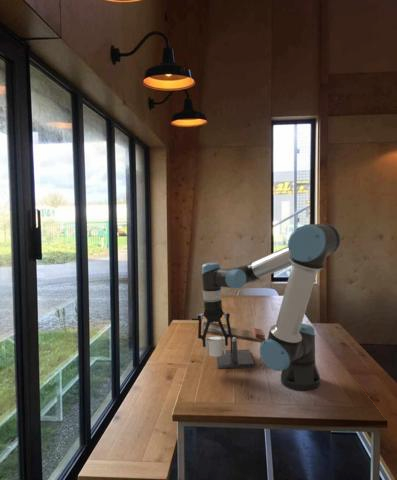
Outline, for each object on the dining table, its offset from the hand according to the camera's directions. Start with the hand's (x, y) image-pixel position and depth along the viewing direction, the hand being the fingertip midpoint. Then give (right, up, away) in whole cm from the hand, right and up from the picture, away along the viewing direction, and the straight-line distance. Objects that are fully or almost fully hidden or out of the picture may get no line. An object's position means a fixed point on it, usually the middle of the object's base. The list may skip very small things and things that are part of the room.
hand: (215, 353), depth 166 cm
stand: (+9, -7, +15) cm, 19 cm away
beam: (+8, +4, +14) cm, 17 cm away
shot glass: (0, -1, 0) cm, 1 cm away
